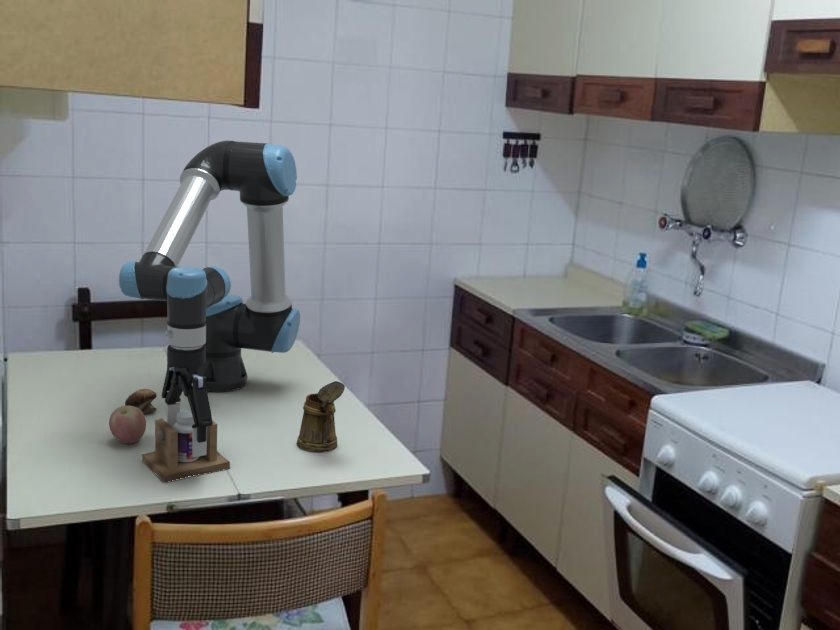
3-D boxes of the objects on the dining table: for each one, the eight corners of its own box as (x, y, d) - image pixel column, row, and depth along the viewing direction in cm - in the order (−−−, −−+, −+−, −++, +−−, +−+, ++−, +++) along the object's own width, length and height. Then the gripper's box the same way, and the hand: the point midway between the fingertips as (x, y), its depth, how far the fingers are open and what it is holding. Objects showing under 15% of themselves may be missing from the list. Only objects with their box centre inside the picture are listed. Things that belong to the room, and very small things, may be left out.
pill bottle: (192, 464, 181) (193, 420, 179) (168, 461, 182) (168, 416, 180) (204, 454, 186) (204, 411, 184) (180, 451, 187) (180, 407, 185)
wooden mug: (312, 463, 190) (315, 383, 185) (291, 439, 201) (294, 364, 197) (350, 457, 194) (355, 379, 189) (328, 435, 205) (331, 361, 201)
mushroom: (168, 401, 210) (153, 379, 209) (140, 420, 205) (124, 398, 205) (158, 407, 216) (144, 385, 216) (131, 425, 212) (116, 403, 211)
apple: (104, 438, 194) (103, 404, 192) (138, 432, 199) (138, 399, 197) (116, 451, 188) (116, 416, 186) (151, 445, 193) (151, 410, 191)
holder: (142, 460, 185) (141, 418, 182) (205, 448, 193) (205, 407, 191) (164, 482, 176) (164, 437, 173) (229, 468, 184) (230, 425, 182)
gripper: (145, 331, 185) (145, 427, 190) (194, 364, 166) (193, 469, 172) (179, 327, 190) (179, 421, 195) (231, 359, 171) (229, 462, 176)
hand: (186, 444), depth 183 cm, fingers open, 12 cm apart
